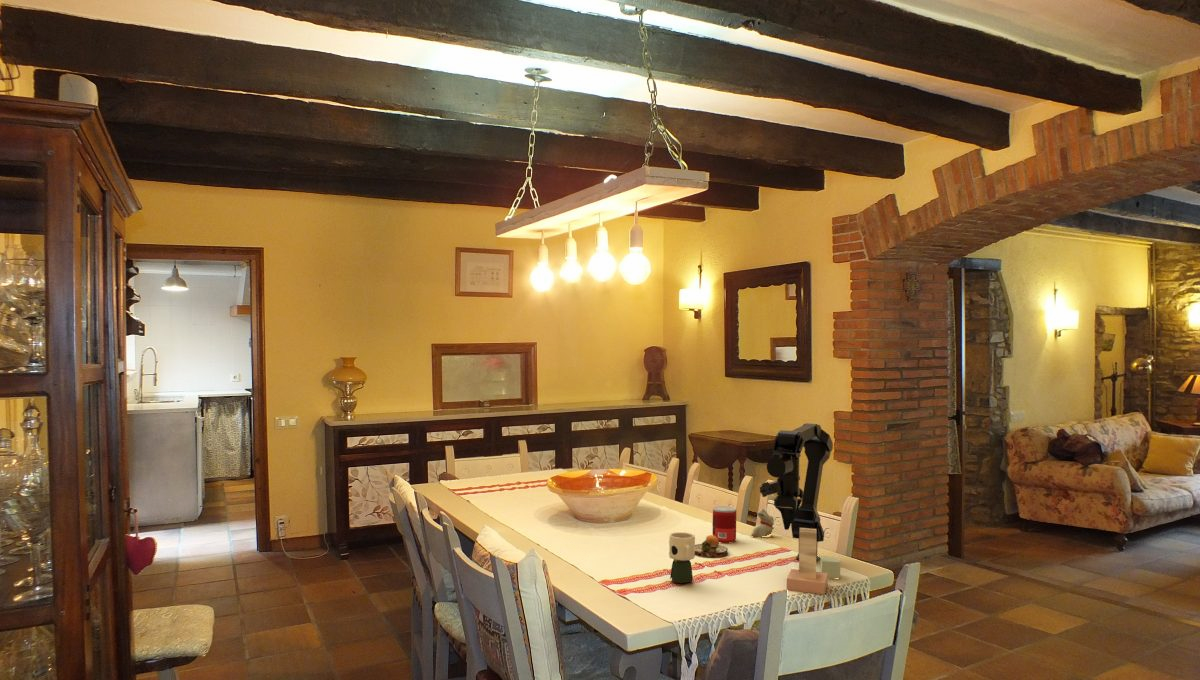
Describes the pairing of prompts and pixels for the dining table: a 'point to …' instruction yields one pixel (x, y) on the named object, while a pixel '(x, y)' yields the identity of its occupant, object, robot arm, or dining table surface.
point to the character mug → (681, 556)
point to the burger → (711, 548)
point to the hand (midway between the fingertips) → (788, 526)
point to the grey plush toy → (763, 524)
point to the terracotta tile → (807, 582)
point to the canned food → (724, 524)
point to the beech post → (807, 553)
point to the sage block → (830, 566)
